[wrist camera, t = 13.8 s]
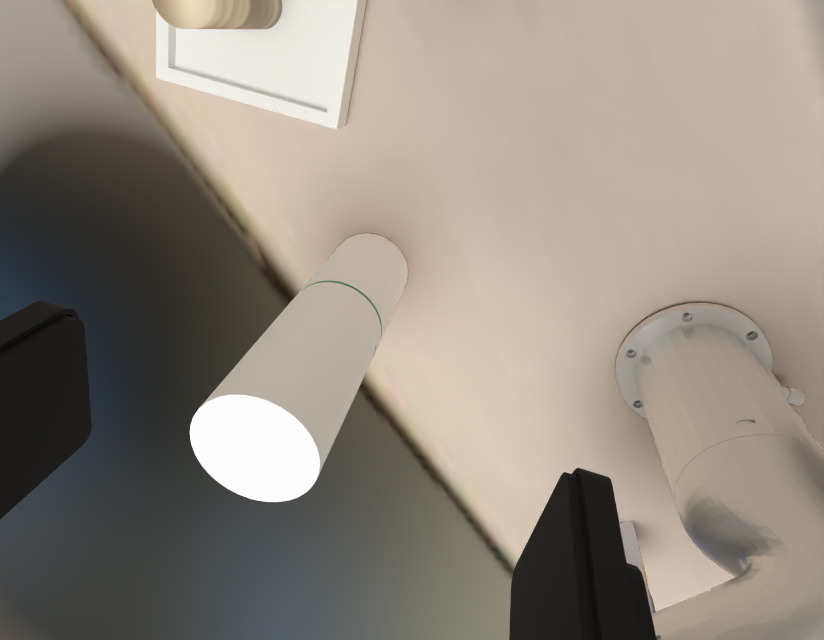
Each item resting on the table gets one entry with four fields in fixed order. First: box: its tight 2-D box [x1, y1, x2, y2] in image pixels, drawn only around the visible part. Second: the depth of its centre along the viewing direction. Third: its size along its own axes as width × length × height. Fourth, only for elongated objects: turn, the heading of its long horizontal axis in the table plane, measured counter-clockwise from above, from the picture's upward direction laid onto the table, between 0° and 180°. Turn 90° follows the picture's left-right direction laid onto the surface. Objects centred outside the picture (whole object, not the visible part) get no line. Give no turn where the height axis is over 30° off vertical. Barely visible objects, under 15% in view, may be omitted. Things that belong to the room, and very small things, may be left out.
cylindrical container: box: [190, 233, 408, 502], centre depth 39 cm, size 7×7×25 cm
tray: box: [156, 0, 367, 129], centre depth 40 cm, size 15×14×2 cm
